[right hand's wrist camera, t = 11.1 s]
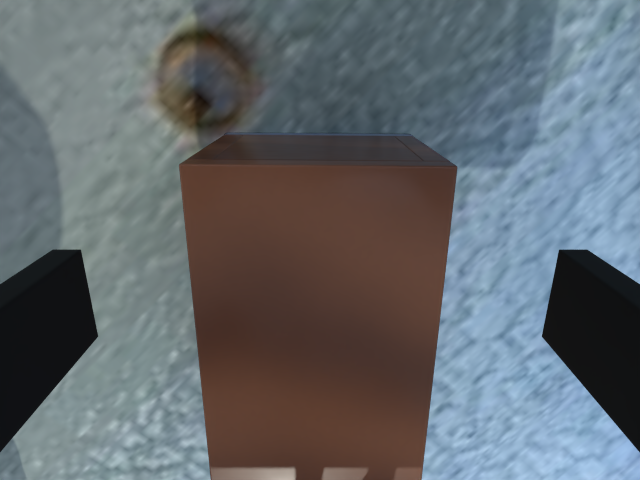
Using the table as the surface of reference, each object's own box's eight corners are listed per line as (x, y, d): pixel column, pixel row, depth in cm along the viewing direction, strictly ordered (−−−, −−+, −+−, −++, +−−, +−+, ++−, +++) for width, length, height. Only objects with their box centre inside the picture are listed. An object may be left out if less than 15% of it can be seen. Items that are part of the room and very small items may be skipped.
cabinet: (391, 377, 33) (419, 496, 24) (242, 376, 33) (211, 495, 23) (410, 134, 27) (458, 165, 17) (226, 132, 27) (178, 163, 17)
